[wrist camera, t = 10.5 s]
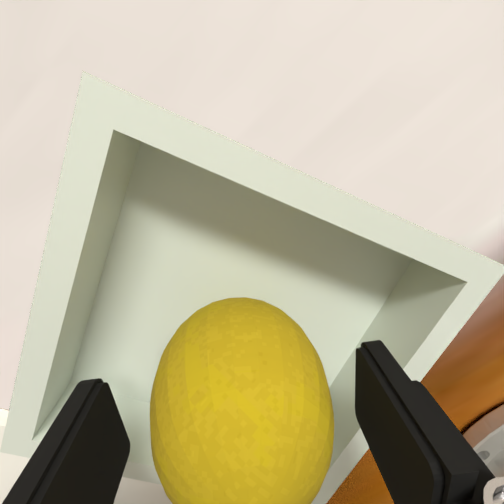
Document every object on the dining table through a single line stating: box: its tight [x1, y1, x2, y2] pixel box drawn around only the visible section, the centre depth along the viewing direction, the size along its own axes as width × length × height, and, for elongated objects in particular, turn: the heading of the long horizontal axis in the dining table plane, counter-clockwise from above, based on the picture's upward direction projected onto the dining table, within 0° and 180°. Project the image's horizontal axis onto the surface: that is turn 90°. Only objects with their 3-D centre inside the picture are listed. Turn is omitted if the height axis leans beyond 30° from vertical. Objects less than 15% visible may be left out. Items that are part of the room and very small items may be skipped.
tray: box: [0, 71, 504, 504], centre depth 12 cm, size 14×14×4 cm
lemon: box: [150, 297, 334, 504], centre depth 10 cm, size 6×6×8 cm
